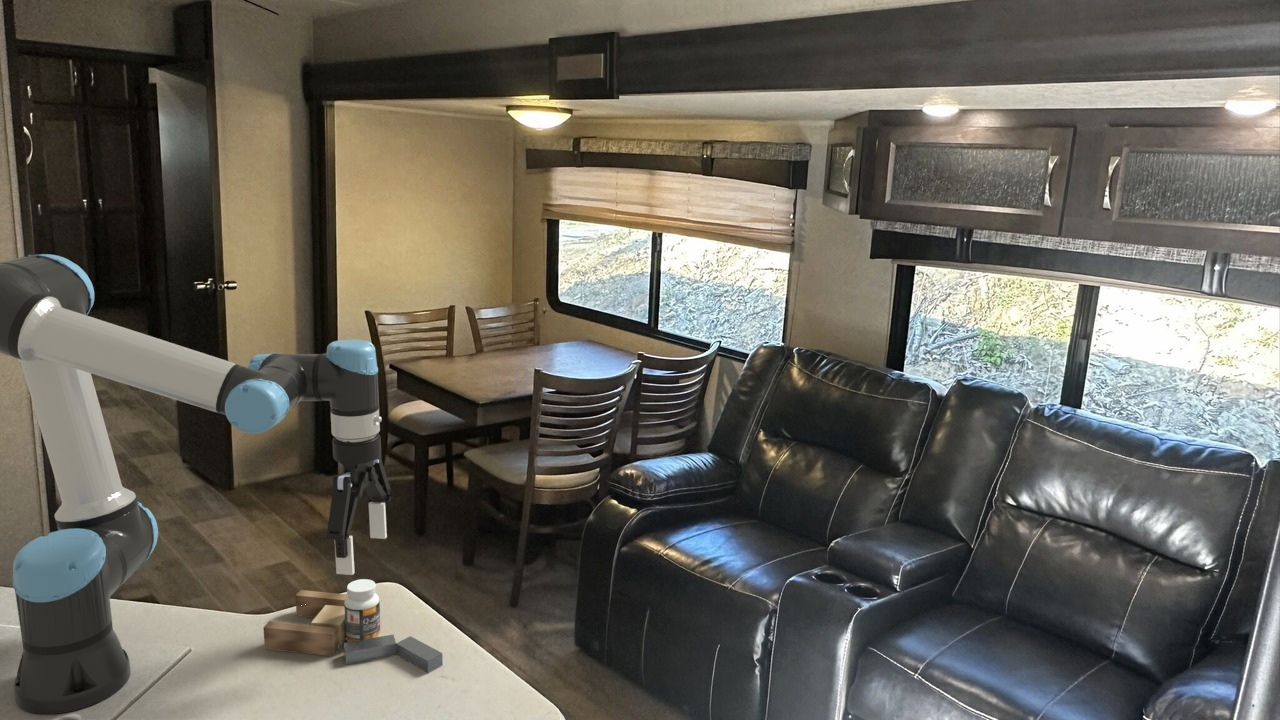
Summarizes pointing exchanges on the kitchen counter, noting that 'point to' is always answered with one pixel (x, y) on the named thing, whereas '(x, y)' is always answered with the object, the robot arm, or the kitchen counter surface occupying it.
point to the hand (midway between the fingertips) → (362, 554)
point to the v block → (393, 651)
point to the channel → (306, 627)
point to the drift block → (332, 620)
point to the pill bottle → (362, 611)
